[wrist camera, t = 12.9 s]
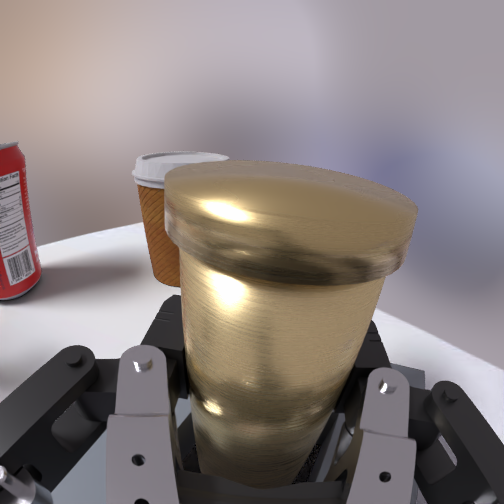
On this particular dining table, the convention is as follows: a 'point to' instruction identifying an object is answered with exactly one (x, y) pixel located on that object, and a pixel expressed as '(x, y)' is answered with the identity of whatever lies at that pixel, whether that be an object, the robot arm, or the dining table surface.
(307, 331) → the brass sleeve
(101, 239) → the dining table surface
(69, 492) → the jig plate
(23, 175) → the soda can
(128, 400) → the robot arm
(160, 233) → the disposable coffee cup
